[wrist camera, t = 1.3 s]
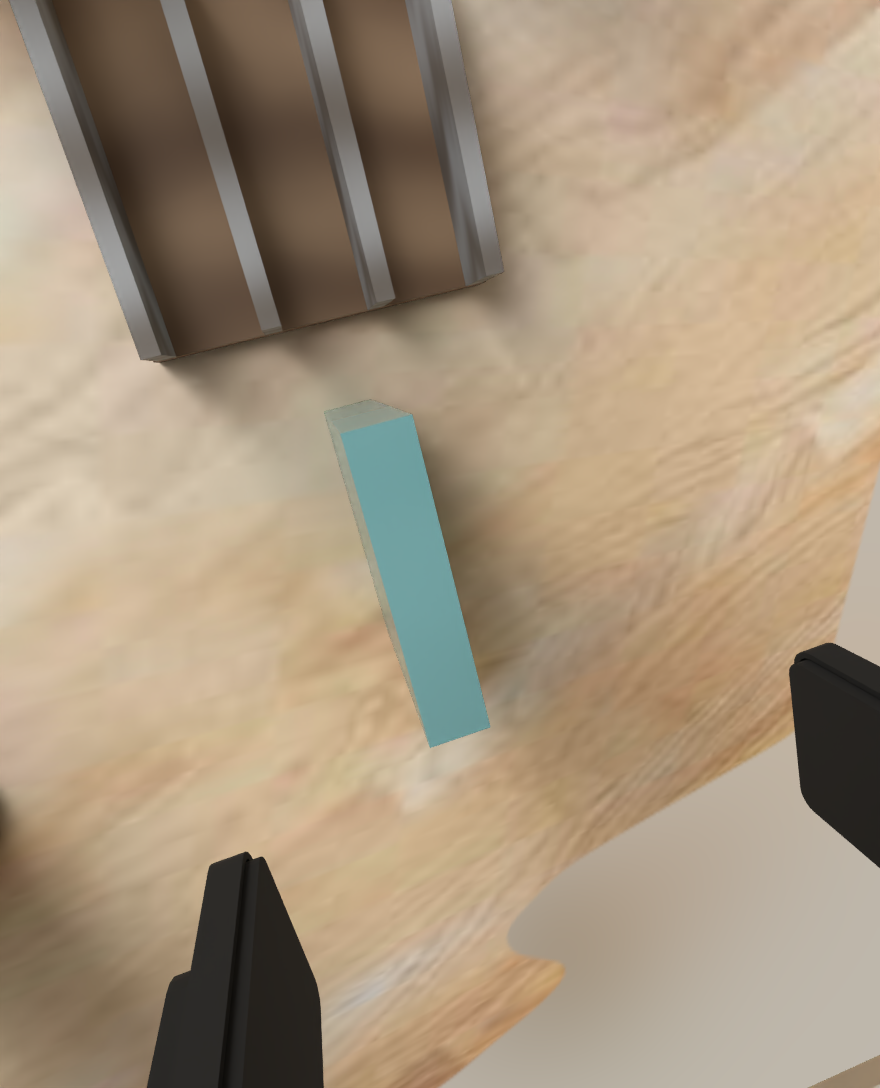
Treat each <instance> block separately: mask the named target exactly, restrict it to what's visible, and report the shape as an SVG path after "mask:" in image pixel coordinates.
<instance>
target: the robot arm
mask: <svg viewBox="0 0 880 1088" xmlns="http://www.w3.org/2000/svg"><path fill="white" fill-rule="evenodd" d="M789 676H790V686H791V696H792V707H793V717H794V727H795V737H796V747H797V757H798V768H799V777H800V787H801V792H802V795H803V797H804V799H805V801H806V803H807V804H808V805H809V807H810V808H811V809H812V810H813V811H814V812H815V813H816V814H817V815H818V816H820V817H821V818H822V819H823V820H824V821H825V822H827V823H828V824H829V825H830V826H831V827H832V828H834V829H835V830H836V831H837V832H838V833H839V834H841V835H842V836H843V837H844V838H845V839H847V840H848V841H849V842H850V843H851V844H852V845H854V846H855V847H856V848H857V849H858V850H859V851H861V852H862V853H863V854H864V855H865V856H866V857H868V858H869V859H870V860H871V861H872V862H873V863H875V864H876V865H877V866H878V867H879V868H880V667H879V666H877V665H876V664H874V663H872V662H870V661H868V660H866V659H864V658H862V657H860V656H858V655H856V654H854V653H852V652H850V651H848V650H846V649H844V648H842V647H840V646H838V645H836V644H833V643H825V644H823V645H820V646H817V647H814V648H811V649H809V650H806V651H803V652H800V653H799V654H797V655H796V657H795V659H794V664H793V665H792V666H791V667H790V669H789ZM147 1088H324V1084H323V1058H322V1032H321V1006H320V997H319V992H318V987H317V984H316V980H315V978H314V975H313V973H312V970H311V968H310V966H309V963H308V961H307V958H306V956H305V954H304V951H303V949H302V946H301V944H300V942H299V939H298V937H297V934H296V932H295V930H294V927H293V925H292V922H291V920H290V918H289V915H288V913H287V910H286V908H285V906H284V903H283V901H282V899H281V896H280V894H279V891H278V889H277V887H276V884H275V882H274V879H273V877H272V875H271V872H270V870H269V867H268V865H267V863H266V861H265V859H264V858H263V857H259V858H256V859H252V857H251V855H250V854H249V853H248V852H244V853H241V854H238V855H235V856H233V857H230V858H227V859H224V860H221V861H219V862H216V863H213V864H211V865H210V867H209V870H208V875H207V880H206V886H205V892H204V897H203V903H202V909H201V914H200V920H199V926H198V931H197V937H196V943H195V948H194V954H193V960H192V965H191V971H188V972H185V973H183V974H180V975H177V976H175V977H174V978H173V979H172V981H171V982H170V984H169V987H168V990H167V994H166V998H165V1003H164V1008H163V1013H162V1017H161V1022H160V1027H159V1032H158V1037H157V1041H156V1046H155V1051H154V1056H153V1061H152V1065H151V1070H150V1075H149V1080H148V1085H147ZM809 1088H880V1055H879V1056H877V1057H874V1058H872V1059H870V1060H868V1061H866V1062H864V1063H861V1064H859V1065H857V1066H855V1067H853V1068H850V1069H848V1070H846V1071H844V1072H841V1073H839V1074H838V1075H835V1076H833V1077H831V1078H828V1079H826V1080H824V1081H822V1082H820V1083H817V1084H815V1085H813V1086H811V1087H809Z"/></svg>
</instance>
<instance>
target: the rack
mask: <svg viewBox="0 0 880 1088" xmlns="http://www.w3.org/2000/svg"><path fill="white" fill-rule="evenodd" d="M9 2H10V4H11V7H12V10H13V13H14V15H15V18H16V21H17V23H18V26H19V29H20V32H21V34H22V37H23V40H24V43H25V45H26V48H27V51H28V54H29V56H30V59H31V62H32V64H33V67H34V70H35V73H36V75H37V78H38V81H39V84H40V86H41V89H42V92H43V95H44V97H45V100H46V103H47V105H48V108H49V111H50V114H51V116H52V119H53V122H54V125H55V127H56V130H57V133H58V136H59V138H60V141H61V144H62V146H63V149H64V152H65V155H66V157H67V160H68V163H69V166H70V168H71V171H72V174H73V177H74V179H75V182H76V185H77V187H78V190H79V193H80V196H81V198H82V201H83V204H84V207H85V209H86V212H87V215H88V217H89V220H90V223H91V226H92V228H93V231H94V234H95V237H96V239H97V242H98V245H99V248H100V250H101V253H102V256H103V258H104V261H105V264H106V267H107V269H108V272H109V275H110V278H111V280H112V283H113V286H114V289H115V291H116V294H117V297H118V299H119V302H120V305H121V308H122V310H123V313H124V316H125V319H126V321H127V324H128V327H129V330H130V332H131V335H132V338H133V340H134V343H135V346H136V349H137V351H138V354H139V357H140V360H149V361H153V362H157V363H159V362H163V361H167V360H172V359H176V358H180V357H184V356H188V355H192V354H196V353H200V352H204V351H209V350H213V349H217V348H221V347H225V346H229V345H233V344H237V343H241V342H245V341H250V340H254V339H258V338H262V337H266V336H270V335H274V334H278V333H282V332H287V331H291V330H295V329H299V328H303V327H307V326H311V325H315V324H319V323H323V322H328V321H332V320H336V319H340V318H344V317H348V316H352V315H356V314H360V313H365V312H369V311H373V310H377V309H381V308H385V307H389V306H393V305H397V304H401V303H406V302H410V301H414V300H418V299H422V298H426V297H430V296H434V295H438V294H442V293H447V292H451V291H455V290H459V289H463V288H467V287H471V286H475V285H479V284H481V283H484V282H486V280H488V279H490V278H492V277H494V276H497V275H499V274H501V273H503V272H504V268H503V263H502V258H501V253H500V248H499V242H498V237H497V232H496V227H495V222H494V217H493V212H492V207H491V201H490V196H489V191H488V186H487V181H486V176H485V171H484V165H483V160H482V155H481V150H480V145H479V140H478V135H477V130H476V124H475V119H474V114H473V109H472V104H471V99H470V94H469V89H468V83H467V78H466V73H465V68H464V63H463V58H462V53H461V48H460V42H459V37H458V32H457V27H456V22H455V17H454V12H453V7H452V1H451V0H9Z"/></svg>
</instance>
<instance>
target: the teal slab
mask: <svg viewBox="0 0 880 1088" xmlns="http://www.w3.org/2000/svg"><path fill="white" fill-rule="evenodd" d="M324 414H325V417H326V421H327V424H328V428H329V431H330V435H331V438H332V441H333V445H334V448H335V452H336V455H337V459H338V462H339V466H340V469H341V472H342V476H343V479H344V483H345V486H346V490H347V493H348V497H349V500H350V503H351V507H352V510H353V514H354V517H355V521H356V524H357V528H358V531H359V534H360V538H361V541H362V545H363V548H364V552H365V555H366V558H367V562H368V565H369V569H370V572H371V576H372V579H373V583H374V586H375V589H376V593H377V596H378V600H379V603H380V607H381V610H382V614H383V617H384V620H385V624H386V627H387V630H388V633H389V636H390V639H391V641H392V644H393V647H394V650H395V652H396V655H397V658H398V661H399V664H400V666H401V669H402V672H403V675H404V677H405V680H406V683H407V686H408V688H409V691H410V694H411V697H412V699H413V702H414V705H415V708H416V711H417V713H418V716H419V719H420V722H421V724H422V727H423V730H424V733H425V735H426V738H427V741H428V744H429V746H430V748H431V747H434V746H437V745H440V744H443V743H446V742H449V741H452V740H455V739H458V738H461V737H463V736H466V735H469V734H472V733H475V732H478V731H481V730H484V729H487V728H490V723H489V719H488V715H487V711H486V707H485V703H484V699H483V695H482V691H481V687H480V683H479V679H478V675H477V671H476V667H475V663H474V659H473V655H472V651H471V647H470V643H469V639H468V635H467V631H466V627H465V623H464V619H463V615H462V611H461V607H460V603H459V599H458V595H457V591H456V587H455V583H454V579H453V575H452V571H451V567H450V563H449V559H448V555H447V551H446V547H445V544H444V540H443V536H442V532H441V528H440V524H439V520H438V516H437V512H436V508H435V504H434V500H433V496H432V492H431V488H430V484H429V480H428V476H427V472H426V468H425V464H424V460H423V456H422V452H421V448H420V444H419V440H418V436H417V432H416V428H415V424H414V420H413V416H412V414H410V413H407V412H404V411H401V410H399V409H396V408H393V407H391V406H388V405H385V404H382V403H380V402H377V401H374V400H371V399H370V400H367V401H363V402H359V403H355V404H351V405H348V406H344V407H340V408H336V409H332V410H329V411H325V412H324Z"/></svg>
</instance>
